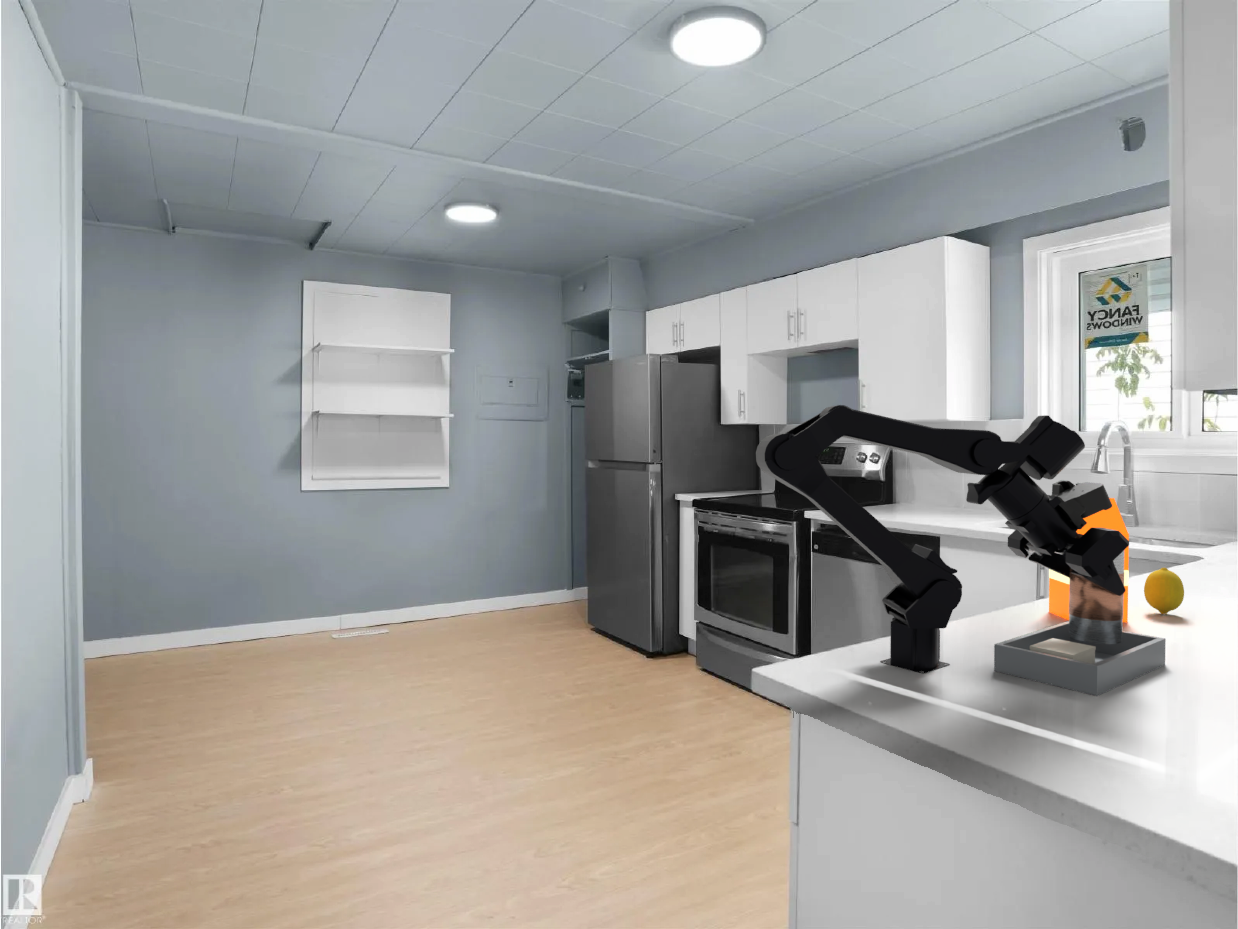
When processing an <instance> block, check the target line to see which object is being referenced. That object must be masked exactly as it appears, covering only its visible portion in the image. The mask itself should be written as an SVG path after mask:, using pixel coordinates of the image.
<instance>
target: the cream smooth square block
mask: <svg viewBox="0 0 1238 929" xmlns="http://www.w3.org/2000/svg"><path fill="white" fill-rule="evenodd" d="M1030 650H1031V651H1036V652H1040V653H1045V654H1050V655H1054V656H1059V657H1064V658H1068V659H1073V660H1078V661H1082V662H1087V663H1091V664H1094V663H1095V650H1096V647H1095V646H1090V645H1085V644H1080V643H1075V642H1070V641H1065V640H1060V639H1055V638H1052V639H1049V640H1046V641H1043V642H1040V643H1037V644H1034V645H1031V646H1030Z"/></svg>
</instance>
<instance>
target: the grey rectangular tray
mask: <svg viewBox="0 0 1238 929" xmlns="http://www.w3.org/2000/svg"><path fill="white" fill-rule="evenodd" d="M1052 638H1055V639H1060V640H1065V641H1070V642H1075V643H1080V644H1085V645H1090V646H1095V647H1096V650H1095V663H1094V664H1091V663H1087V662H1082V661H1078V660H1073V659H1068V658H1064V657H1059V656H1054V655H1050V654H1045V653H1040V652H1036V651H1031V650H1030V646H1031V645H1034V644H1037V643H1040V642H1043V641H1046V640H1049V639H1052ZM1166 641H1167V640H1166V638H1164V637H1158V636H1154V635H1149V634H1142V633H1135V632H1131V631H1124V630H1122V642H1121V643H1118V644H1098V643H1090V642H1085V641H1080V640H1077V639H1074V638H1071V637H1070V636H1069V620H1067V621H1064V622H1060V623H1058V624H1055V625H1051V626H1048V627H1045V628H1041V629H1038V630H1035V631H1032V632H1029V633H1026V634H1023V635H1019V636H1017V637H1012V638H1009V639H1006V640H1004V641H1000V642H997V643H994V646H993V647H994V648H993V650H994V651H993V652H994V653H993V654H994V657H993V658H994V660H993V661H994V662H993V664H994V665H993V666H994V668H993V672H997V673H1001V674H1006V675H1008V676H1012V677H1013V676H1014V677H1017V678H1021V679H1026V680H1030V681H1033V682H1036V683H1037V682H1038V683H1042V684H1046V685H1050V686H1054V687H1058V688H1062V689H1067V690H1069V691H1074V692H1078V693H1083V694H1086V695H1091V696H1095V697H1098V696H1100V695H1103V694H1105V693H1108V692H1109V691H1111V690H1113V689H1115V688H1118V687H1120V686H1122V685H1124V684H1126V683H1129V682H1131V681H1133V680H1136V679H1138V678H1140V677H1142V676H1144V675H1146V674H1149V673H1151V672H1153V671H1155V670H1157V669H1159V668H1161V667H1164V666H1166Z"/></svg>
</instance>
